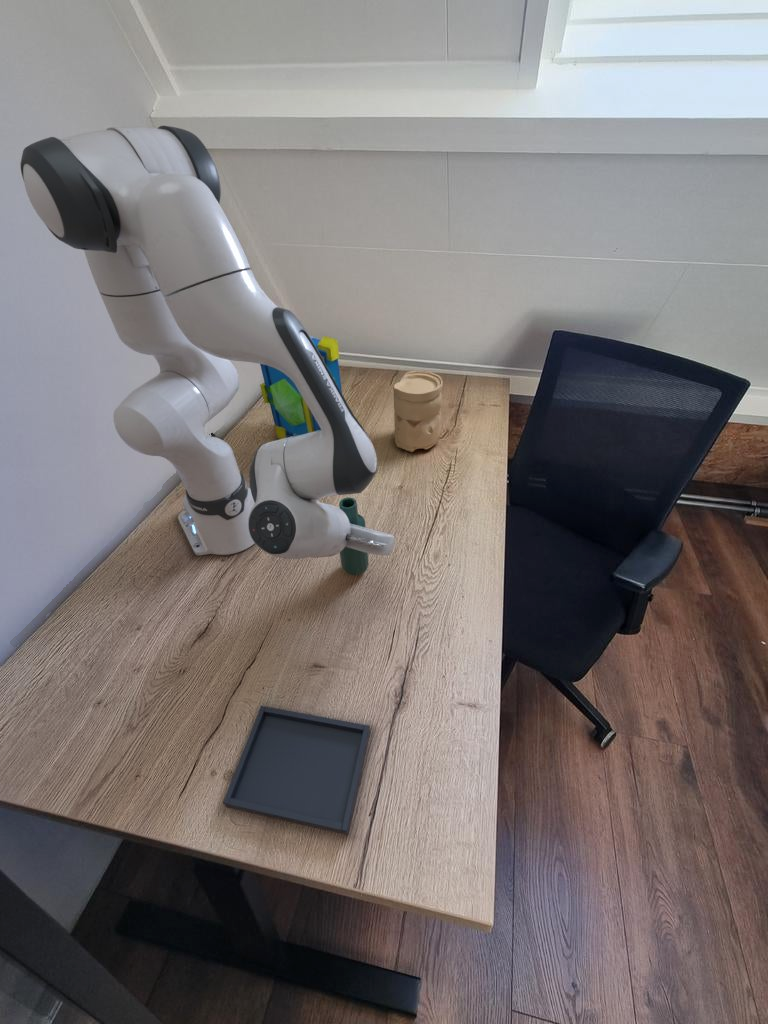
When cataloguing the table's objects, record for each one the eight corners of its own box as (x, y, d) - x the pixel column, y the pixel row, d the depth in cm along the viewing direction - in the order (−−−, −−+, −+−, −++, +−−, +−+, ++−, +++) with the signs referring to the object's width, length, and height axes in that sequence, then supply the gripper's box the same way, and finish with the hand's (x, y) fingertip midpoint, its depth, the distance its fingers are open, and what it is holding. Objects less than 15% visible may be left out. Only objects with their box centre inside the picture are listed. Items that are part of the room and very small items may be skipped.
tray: (226, 807, 63) (222, 803, 62) (263, 711, 73) (260, 705, 71) (348, 835, 60) (346, 831, 59) (370, 731, 70) (369, 725, 68)
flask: (336, 564, 93) (326, 503, 81) (356, 550, 96) (349, 489, 84) (354, 579, 90) (346, 517, 79) (374, 564, 93) (369, 502, 81)
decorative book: (303, 419, 139) (284, 319, 118) (359, 444, 127) (349, 338, 107) (267, 440, 131) (240, 337, 110) (323, 469, 119) (304, 359, 99)
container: (390, 451, 124) (388, 391, 112) (400, 427, 133) (398, 369, 120) (436, 456, 121) (438, 395, 109) (443, 431, 130) (445, 372, 118)
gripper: (385, 527, 71) (407, 529, 84) (274, 497, 77) (311, 504, 90) (375, 566, 71) (398, 562, 84) (265, 533, 77) (303, 534, 90)
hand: (352, 532), depth 87 cm, fingers closed on flask, 5 cm apart
